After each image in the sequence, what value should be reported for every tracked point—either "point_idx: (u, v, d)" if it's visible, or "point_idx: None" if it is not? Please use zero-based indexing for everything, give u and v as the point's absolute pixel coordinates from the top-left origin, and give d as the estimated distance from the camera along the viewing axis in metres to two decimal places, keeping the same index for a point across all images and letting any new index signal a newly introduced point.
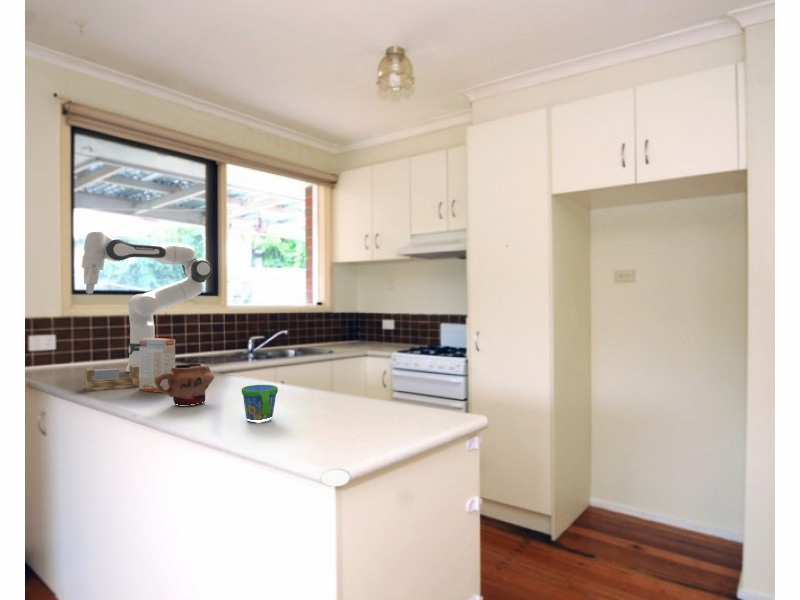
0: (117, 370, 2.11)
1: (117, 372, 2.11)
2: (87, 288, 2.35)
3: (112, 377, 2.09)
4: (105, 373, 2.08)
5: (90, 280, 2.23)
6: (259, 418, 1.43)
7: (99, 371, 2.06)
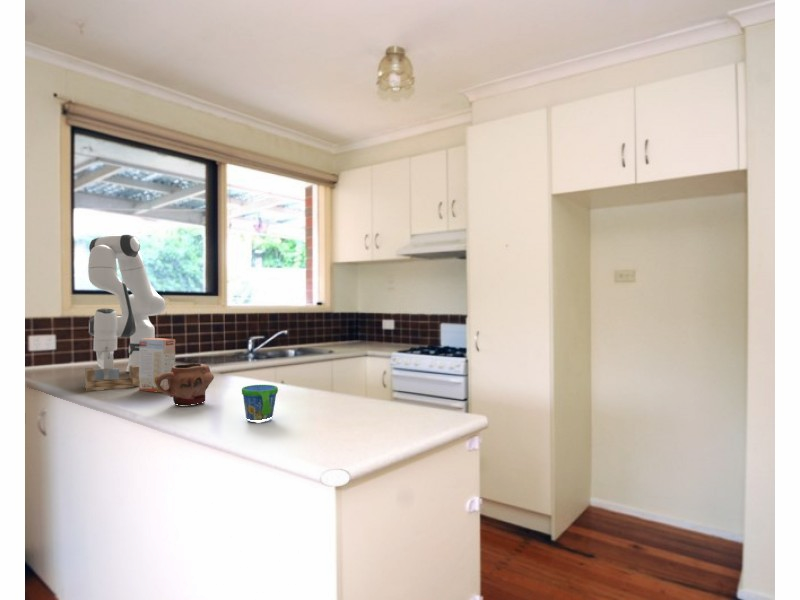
0: (117, 370, 2.11)
1: (117, 372, 2.11)
2: None
3: (112, 377, 2.09)
4: None
5: (105, 367, 2.00)
6: (259, 418, 1.43)
7: (99, 371, 2.06)
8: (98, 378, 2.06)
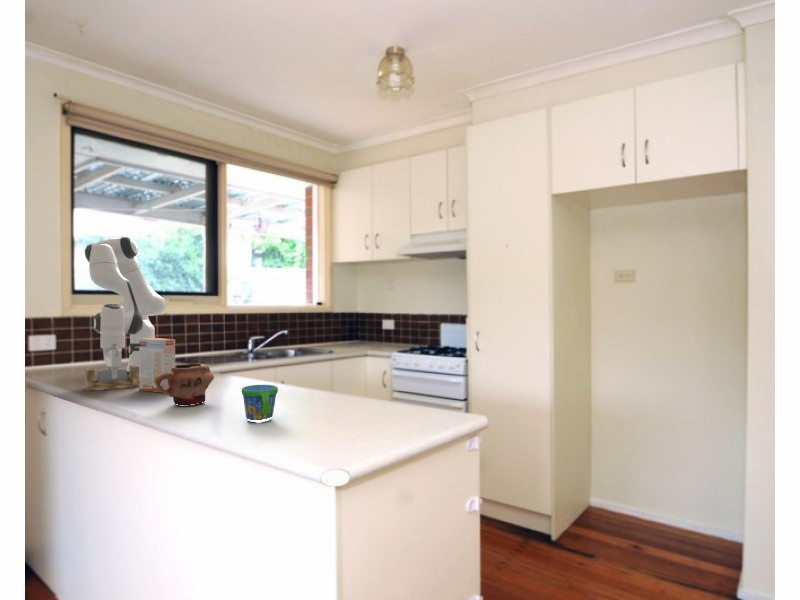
0: (124, 370, 2.01)
1: (124, 372, 2.01)
2: (109, 369, 2.02)
3: (119, 378, 2.00)
4: None
5: (113, 365, 1.91)
6: (259, 418, 1.43)
7: (106, 371, 1.97)
8: (105, 379, 1.97)
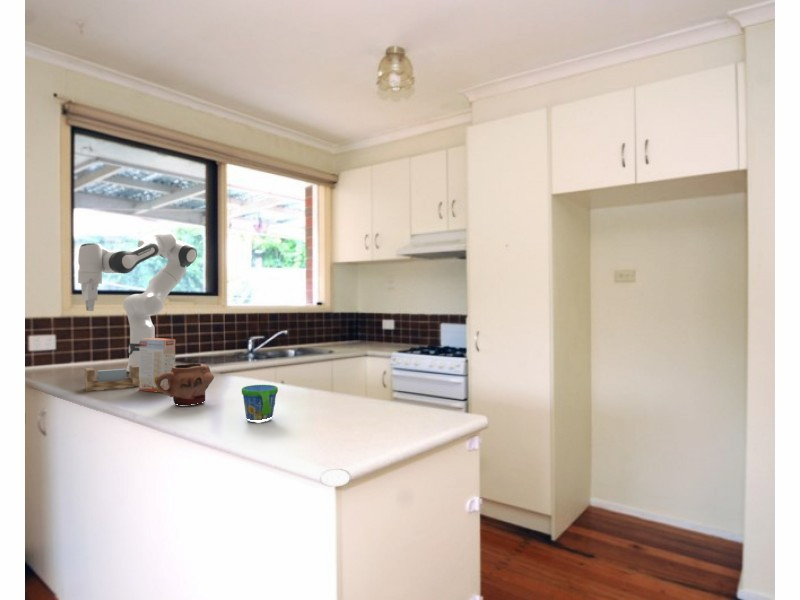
0: (124, 370, 2.01)
1: (124, 372, 2.01)
2: (87, 305, 2.16)
3: (119, 378, 2.00)
4: (112, 373, 1.98)
5: (89, 297, 2.04)
6: (259, 418, 1.43)
7: (106, 371, 1.97)
8: (105, 379, 1.97)
